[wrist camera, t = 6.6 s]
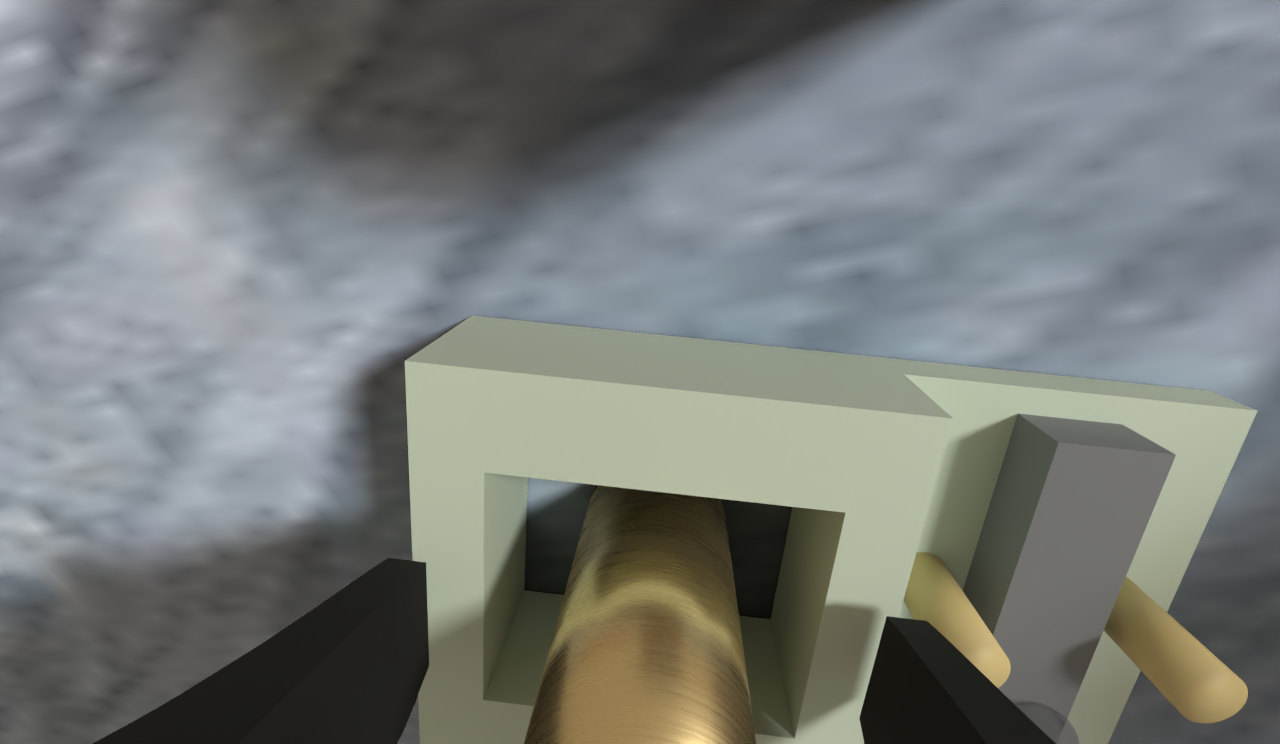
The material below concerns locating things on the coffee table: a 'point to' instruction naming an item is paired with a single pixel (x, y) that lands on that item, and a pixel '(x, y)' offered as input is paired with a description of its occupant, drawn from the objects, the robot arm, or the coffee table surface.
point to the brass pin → (647, 629)
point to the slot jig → (827, 517)
